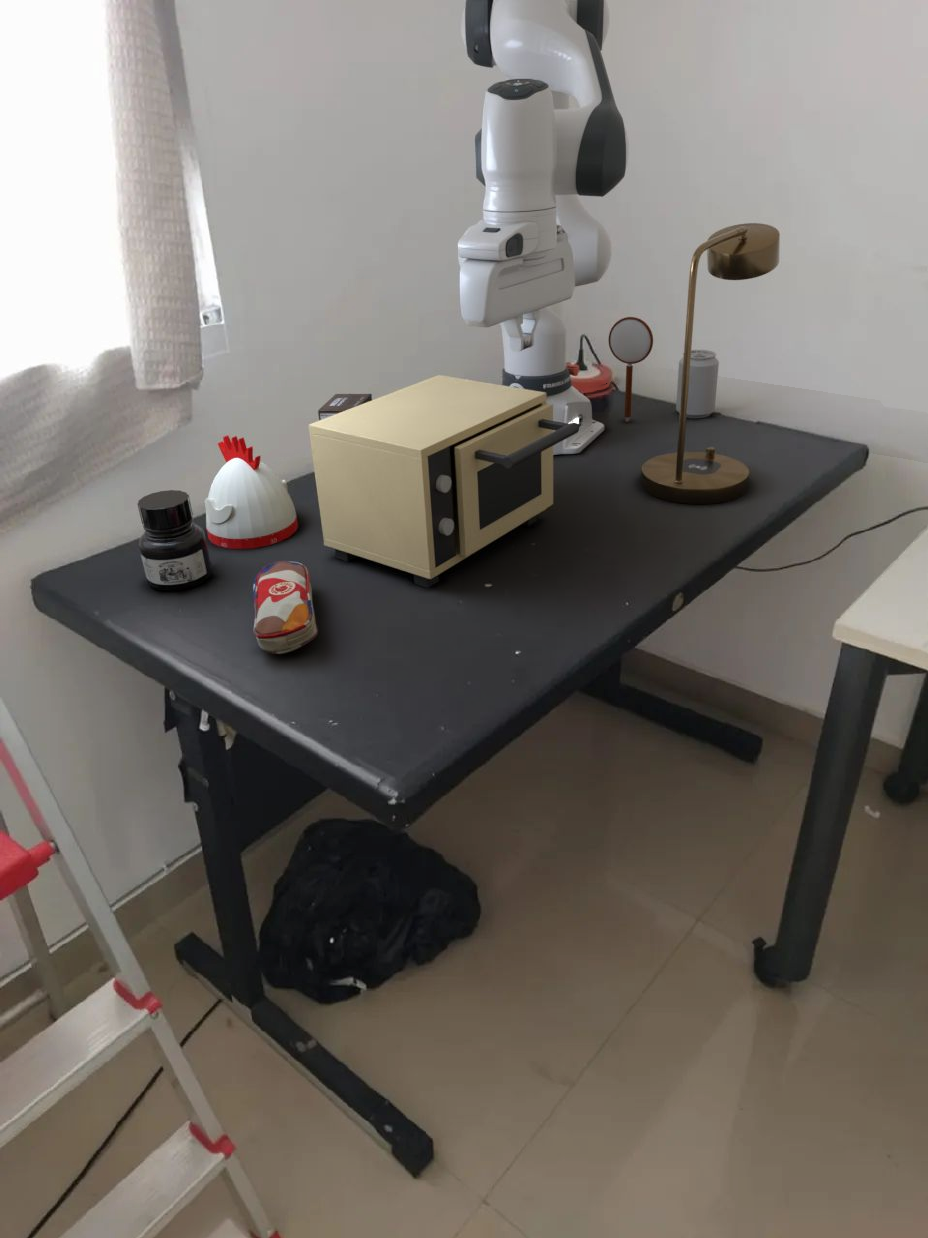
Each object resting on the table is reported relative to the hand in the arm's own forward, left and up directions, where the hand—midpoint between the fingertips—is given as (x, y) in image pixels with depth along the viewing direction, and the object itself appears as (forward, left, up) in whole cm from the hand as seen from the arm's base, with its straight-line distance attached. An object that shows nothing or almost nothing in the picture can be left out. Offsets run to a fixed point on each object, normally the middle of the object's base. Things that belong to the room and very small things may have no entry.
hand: (522, 348), depth 121 cm
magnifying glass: (-59, -17, -29) cm, 68 cm away
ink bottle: (+33, -37, -29) cm, 57 cm away
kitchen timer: (+16, -41, -29) cm, 53 cm away
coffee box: (-3, -37, -29) cm, 47 cm away
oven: (+3, -14, -29) cm, 32 cm away
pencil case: (+33, -15, -29) cm, 46 cm away
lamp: (-41, +8, -29) cm, 51 cm away
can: (-70, -8, -29) cm, 76 cm away
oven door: (0, 0, -26) cm, 26 cm away
